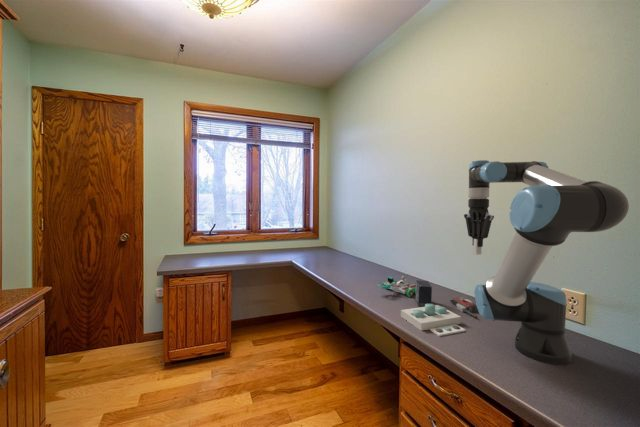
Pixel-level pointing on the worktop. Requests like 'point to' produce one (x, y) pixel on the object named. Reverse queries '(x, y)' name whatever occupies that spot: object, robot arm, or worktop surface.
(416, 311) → the button
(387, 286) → the robot kit
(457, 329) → the pattern card
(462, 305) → the walkie-talkie
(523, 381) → the worktop surface
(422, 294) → the small box
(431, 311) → the button
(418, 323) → the board
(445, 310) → the button
